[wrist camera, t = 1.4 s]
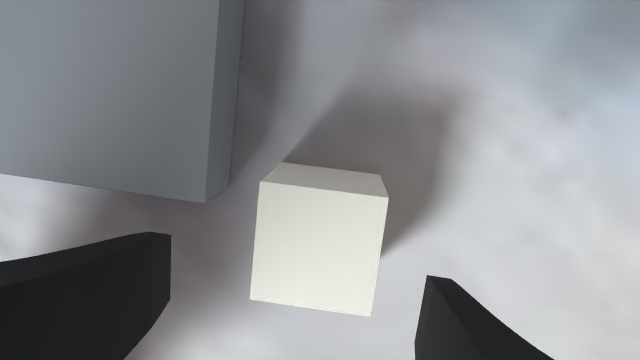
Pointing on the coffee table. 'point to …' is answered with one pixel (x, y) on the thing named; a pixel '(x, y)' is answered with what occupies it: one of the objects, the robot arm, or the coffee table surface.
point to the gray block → (121, 93)
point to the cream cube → (318, 238)
